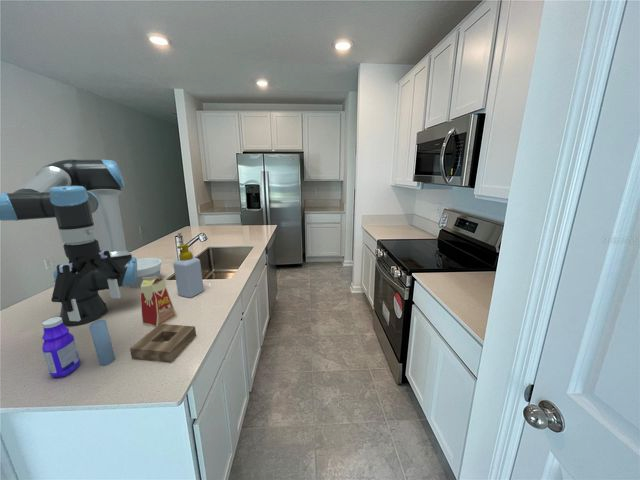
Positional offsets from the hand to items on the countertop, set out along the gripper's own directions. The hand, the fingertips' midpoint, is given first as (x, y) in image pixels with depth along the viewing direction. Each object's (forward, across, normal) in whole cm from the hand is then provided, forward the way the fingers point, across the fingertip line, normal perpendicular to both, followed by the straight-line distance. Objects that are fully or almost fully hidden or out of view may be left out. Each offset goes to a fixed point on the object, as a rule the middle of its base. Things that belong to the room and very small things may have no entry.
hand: (97, 308), depth 81 cm
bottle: (+19, -6, +10) cm, 22 cm away
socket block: (+19, +8, -14) cm, 25 cm away
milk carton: (+19, +23, 0) cm, 30 cm away
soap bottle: (+19, +47, +1) cm, 51 cm away
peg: (+19, -1, 0) cm, 19 cm away
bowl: (+19, +57, +34) cm, 69 cm away
